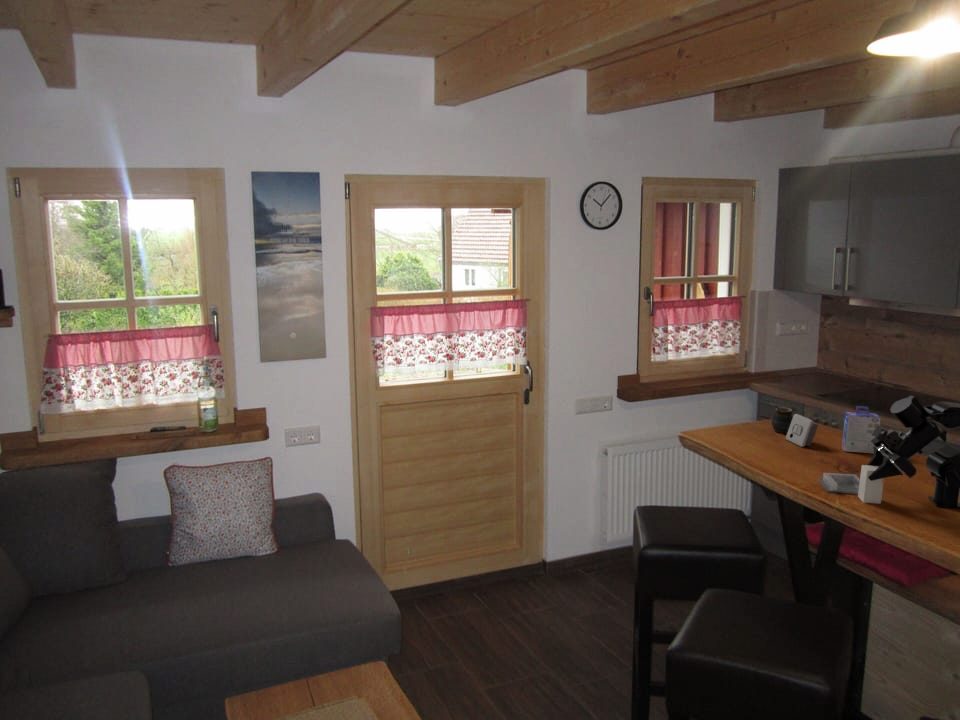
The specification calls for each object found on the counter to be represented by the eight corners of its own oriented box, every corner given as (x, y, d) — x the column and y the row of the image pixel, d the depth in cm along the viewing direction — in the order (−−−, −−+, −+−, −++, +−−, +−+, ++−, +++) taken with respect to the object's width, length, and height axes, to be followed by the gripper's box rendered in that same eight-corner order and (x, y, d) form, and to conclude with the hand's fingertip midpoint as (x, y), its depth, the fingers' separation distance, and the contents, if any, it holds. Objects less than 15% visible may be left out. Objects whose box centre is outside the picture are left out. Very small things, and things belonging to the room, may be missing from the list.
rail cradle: (870, 495, 216) (871, 486, 215) (828, 492, 217) (828, 483, 217) (858, 482, 226) (859, 474, 225) (818, 479, 227) (818, 471, 227)
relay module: (882, 503, 210) (886, 471, 208) (863, 502, 210) (867, 470, 209) (876, 497, 214) (880, 466, 212) (857, 496, 215) (861, 464, 213)
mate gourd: (797, 432, 275) (800, 404, 273) (783, 435, 271) (786, 407, 269) (780, 427, 281) (782, 400, 278) (766, 430, 277) (768, 403, 275)
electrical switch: (784, 439, 266) (789, 413, 265) (798, 440, 267) (803, 413, 266) (801, 448, 257) (807, 420, 256) (815, 448, 258) (820, 421, 257)
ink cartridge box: (872, 449, 257) (878, 406, 254) (877, 454, 252) (883, 410, 249) (840, 446, 259) (845, 404, 256) (844, 452, 254) (849, 408, 251)
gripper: (882, 408, 216) (836, 444, 220) (908, 426, 198) (857, 465, 202) (909, 437, 217) (862, 473, 220) (938, 458, 199) (886, 497, 202)
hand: (866, 476), depth 211 cm, fingers closed on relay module, 4 cm apart
